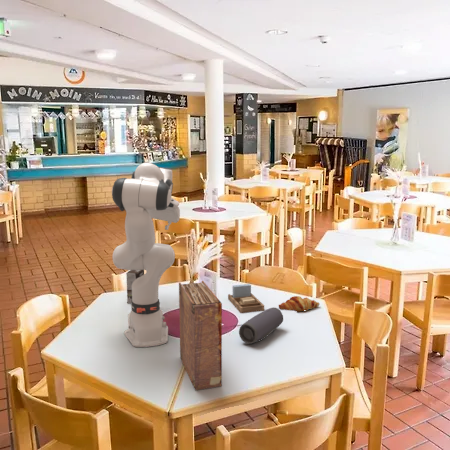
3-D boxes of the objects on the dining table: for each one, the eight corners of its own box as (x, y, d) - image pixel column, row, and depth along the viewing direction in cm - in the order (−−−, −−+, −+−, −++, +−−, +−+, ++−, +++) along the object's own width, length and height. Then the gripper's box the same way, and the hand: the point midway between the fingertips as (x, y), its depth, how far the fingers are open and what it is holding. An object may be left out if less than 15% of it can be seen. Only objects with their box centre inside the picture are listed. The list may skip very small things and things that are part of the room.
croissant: (316, 311, 234) (313, 296, 236) (324, 309, 225) (322, 292, 227) (276, 315, 229) (274, 298, 231) (283, 312, 219) (281, 295, 222)
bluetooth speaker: (265, 325, 209) (266, 304, 207) (284, 330, 204) (284, 308, 202) (237, 343, 191) (237, 320, 189) (256, 349, 186) (257, 325, 184)
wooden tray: (264, 312, 224) (264, 305, 223) (240, 315, 220) (240, 308, 220) (250, 298, 243) (250, 292, 242) (228, 300, 239) (228, 294, 239)
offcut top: (255, 303, 228) (255, 299, 228) (243, 304, 226) (243, 301, 226) (251, 300, 232) (251, 296, 232) (240, 301, 230) (240, 298, 230)
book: (180, 357, 179) (178, 282, 173) (203, 353, 182) (202, 279, 176) (195, 391, 155) (194, 305, 150) (221, 386, 158) (221, 302, 152)
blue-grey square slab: (250, 300, 237) (251, 285, 236) (234, 302, 235) (234, 287, 233) (249, 298, 239) (249, 283, 238) (232, 300, 237) (232, 285, 235)
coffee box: (139, 304, 235) (137, 273, 232) (127, 303, 236) (125, 272, 233) (145, 298, 243) (144, 268, 240) (134, 297, 245) (132, 267, 242)
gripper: (137, 197, 222) (134, 225, 226) (179, 205, 220) (175, 233, 224) (142, 195, 228) (139, 221, 232) (182, 202, 226) (178, 229, 230)
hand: (157, 227), depth 228 cm, fingers open, 8 cm apart
